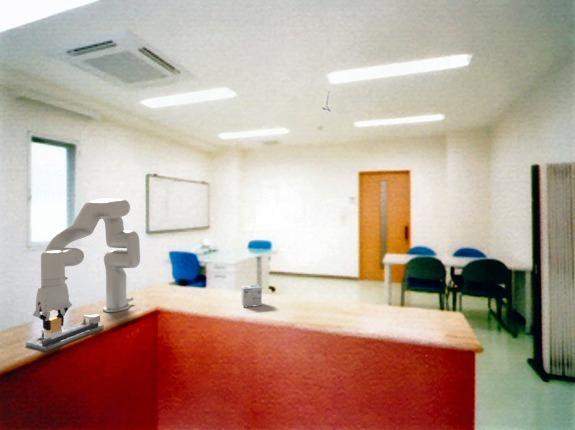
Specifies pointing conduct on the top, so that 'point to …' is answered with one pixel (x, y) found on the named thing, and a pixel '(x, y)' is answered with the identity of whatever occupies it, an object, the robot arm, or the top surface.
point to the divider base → (63, 341)
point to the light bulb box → (251, 295)
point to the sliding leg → (53, 329)
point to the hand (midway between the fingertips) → (53, 327)
